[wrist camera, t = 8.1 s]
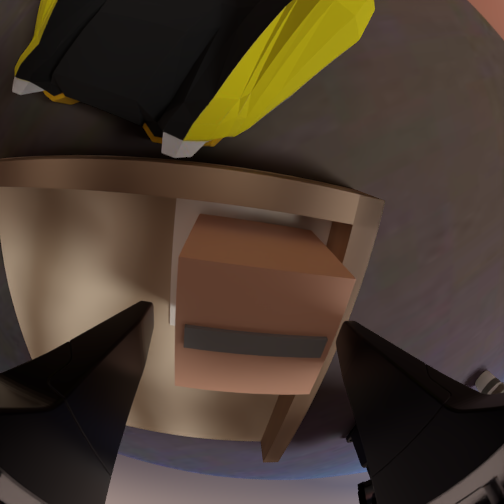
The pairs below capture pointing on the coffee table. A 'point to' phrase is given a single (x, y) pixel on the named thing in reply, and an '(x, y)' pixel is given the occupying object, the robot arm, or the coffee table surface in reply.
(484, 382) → the coffee cup
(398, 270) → the coffee table surface
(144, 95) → the gaming controller
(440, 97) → the coffee table surface
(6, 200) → the arena
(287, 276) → the cube
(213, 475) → the coffee table surface
